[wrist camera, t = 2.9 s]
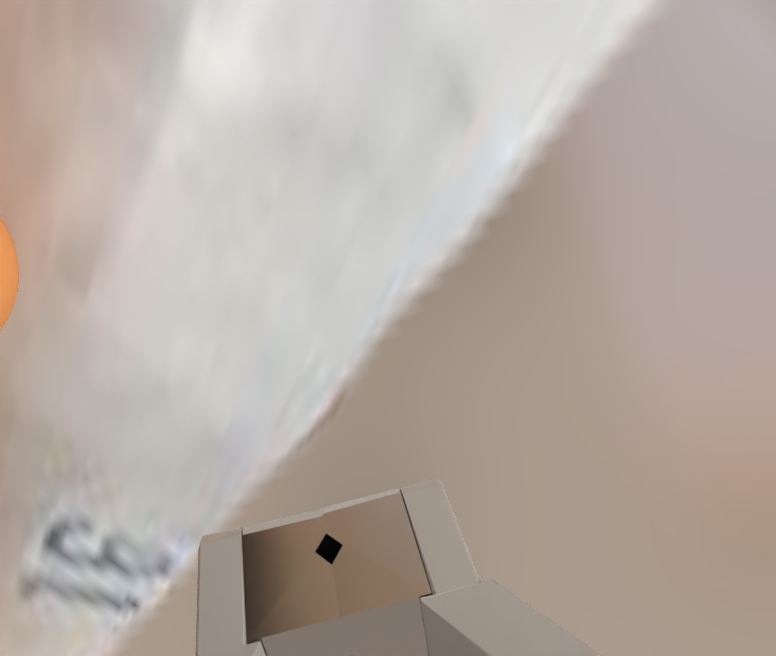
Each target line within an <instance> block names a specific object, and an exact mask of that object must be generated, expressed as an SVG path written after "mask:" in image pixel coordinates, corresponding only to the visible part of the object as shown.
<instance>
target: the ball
mask: <svg viewBox="0 0 776 656" xmlns="http://www.w3.org/2000/svg"><path fill="white" fill-rule="evenodd" d="M18 281H19V268H18V259H17V254H16V250H15V246H14V243H13V241H12V238H11V236H10V233H9V231H8V229H7V227H6V225H5V224H4V222H3V220H2V219H1V217H0V330H1V328H2V327H3V325H4V324H5V322H6V321H7V319H8V317H9V315H10V313H11V311H12V308H13V305H14V302H15V298H16V295H17V291H18Z"/></svg>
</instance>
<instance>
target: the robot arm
mask: <svg viewBox="0 0 776 656" xmlns="http://www.w3.org/2000/svg"><path fill="white" fill-rule="evenodd" d="M197 589H198V590H197V591H198V592H197V625H196V656H602V655H601V654H599V653H598V652H596V651H595V650H593V649H592V648H591V647H589V646H588V645H586V644H585V643H583V642H582V641H581V640H579V639H578V638H576V637H575V636H573V635H572V634H571V633H569V632H568V631H566V630H565V629H563V628H562V627H561V626H559V625H558V624H556V623H555V622H553V621H552V620H551V619H549V618H548V617H546V616H545V615H543V614H542V613H540V612H539V611H538V610H536V609H535V608H533V607H532V606H530V605H529V604H528V603H526V602H525V601H523V600H522V599H520V598H519V597H517V596H516V595H515V594H513V593H512V592H510V591H509V590H507V589H506V588H505V587H503V586H502V585H500V584H499V583H498V582H496V581H495V580H493V579H492V580H488V581H483V582H481V581H480V579H479V577H478V574H477V571H476V569H475V566H474V563H473V561H472V558H471V556H470V553H469V551H468V548H467V545H466V543H465V540H464V538H463V535H462V533H461V530H460V527H459V525H458V522H457V520H456V517H455V515H454V512H453V509H452V507H451V505H450V502H449V499H448V497H447V494H446V492H445V489H444V486H443V484H442V483H441V482H440V481H439V480H438V479H433V480H429V481H425V482H421V483H418V484H414V485H410V486H406V487H402V488H400V491H399V489H394V490H390V491H386V492H383V493H379V494H375V495H371V496H367V497H364V498H359V499H356V500H352V501H348V502H344V503H340V504H336V505H332V506H328V507H325V508H323V509H320V510H315V511H310V512H306V513H301V514H297V515H293V516H288V517H283V518H279V519H275V520H270V521H266V522H261V523H257V524H252V525H247V526H244V527H242V528H238V529H233V530H228V531H224V532H219V533H215V534H210V535H206V536H202V539H201V542H200V545H199V551H198V588H197Z"/></svg>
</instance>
